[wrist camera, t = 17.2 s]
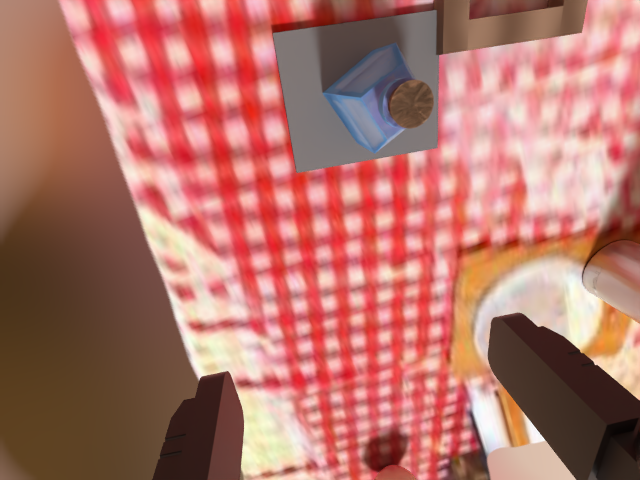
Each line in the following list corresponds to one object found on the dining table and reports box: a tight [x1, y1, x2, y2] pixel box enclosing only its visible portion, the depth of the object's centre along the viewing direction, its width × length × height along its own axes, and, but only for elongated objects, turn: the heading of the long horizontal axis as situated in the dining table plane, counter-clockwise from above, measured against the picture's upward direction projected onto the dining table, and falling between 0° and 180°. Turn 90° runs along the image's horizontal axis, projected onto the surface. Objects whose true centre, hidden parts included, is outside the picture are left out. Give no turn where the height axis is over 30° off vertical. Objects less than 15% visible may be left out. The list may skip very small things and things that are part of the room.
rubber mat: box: [273, 10, 439, 173], centre depth 34 cm, size 16×13×1 cm
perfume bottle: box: [323, 43, 434, 153], centre depth 28 cm, size 6×6×12 cm
